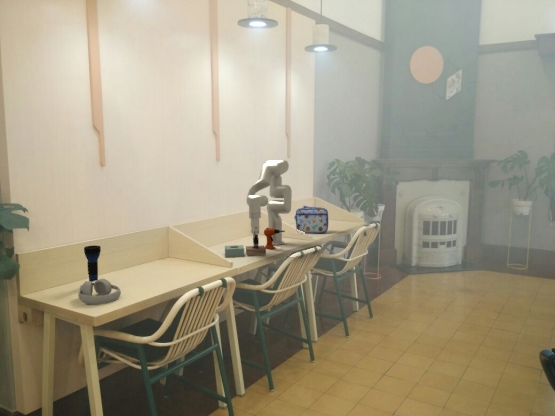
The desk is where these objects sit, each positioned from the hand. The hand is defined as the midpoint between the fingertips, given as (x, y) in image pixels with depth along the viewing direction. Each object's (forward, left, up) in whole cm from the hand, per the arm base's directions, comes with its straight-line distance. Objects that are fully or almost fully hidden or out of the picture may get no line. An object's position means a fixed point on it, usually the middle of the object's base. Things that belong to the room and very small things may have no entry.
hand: (255, 243), depth 326 cm
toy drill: (-11, +14, -7) cm, 19 cm away
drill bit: (0, 0, -5) cm, 5 cm away
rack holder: (0, -14, -7) cm, 16 cm away
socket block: (0, 0, -7) cm, 7 cm away
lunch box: (-69, +51, -7) cm, 86 cm away
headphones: (+84, -81, -7) cm, 117 cm away
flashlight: (+58, -89, -7) cm, 107 cm away
